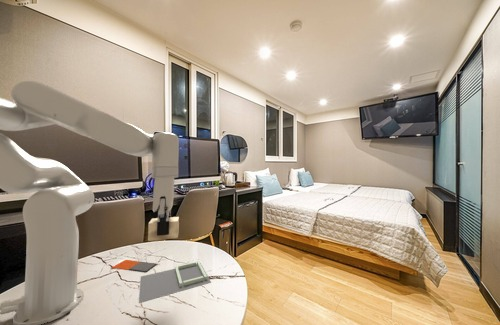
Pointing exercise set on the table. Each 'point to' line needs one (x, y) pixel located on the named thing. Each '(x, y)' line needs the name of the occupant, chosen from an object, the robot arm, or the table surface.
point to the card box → (172, 229)
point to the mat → (172, 281)
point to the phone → (134, 266)
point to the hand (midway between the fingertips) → (164, 230)
